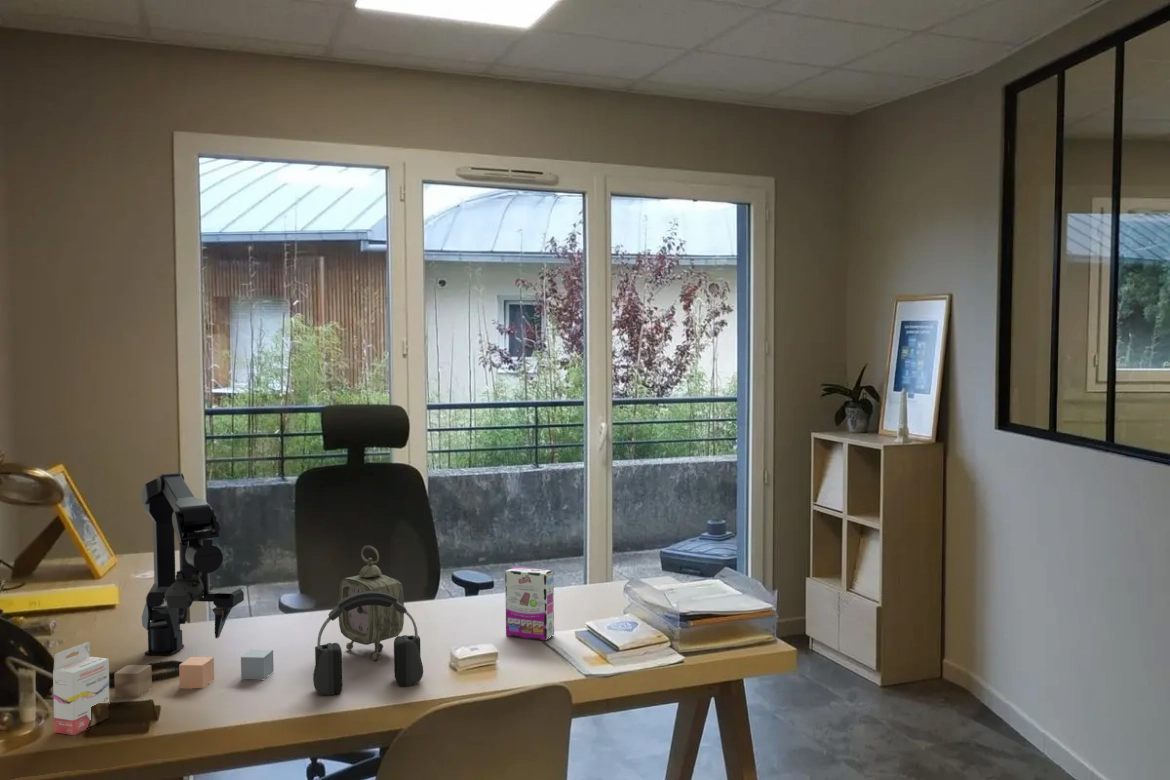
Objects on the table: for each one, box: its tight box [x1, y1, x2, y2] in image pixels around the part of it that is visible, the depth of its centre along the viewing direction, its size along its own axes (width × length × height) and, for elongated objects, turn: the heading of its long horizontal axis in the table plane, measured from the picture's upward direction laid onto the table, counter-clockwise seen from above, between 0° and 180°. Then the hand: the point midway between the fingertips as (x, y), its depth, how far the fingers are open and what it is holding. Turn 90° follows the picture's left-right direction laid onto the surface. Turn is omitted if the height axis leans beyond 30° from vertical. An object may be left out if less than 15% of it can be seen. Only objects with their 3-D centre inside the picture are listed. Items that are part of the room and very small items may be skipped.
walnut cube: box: [113, 664, 153, 698], centre depth 188 cm, size 5×5×5 cm
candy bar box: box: [504, 566, 555, 642], centre depth 224 cm, size 11×5×16 cm, turn 68°
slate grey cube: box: [240, 648, 275, 680], centre depth 198 cm, size 5×5×5 cm
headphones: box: [312, 591, 424, 696], centre depth 191 cm, size 22×6×20 cm, turn 109°
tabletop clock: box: [337, 545, 405, 661], centre depth 212 cm, size 14×9×25 cm, turn 47°
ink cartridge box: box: [52, 641, 110, 736], centre depth 172 cm, size 9×5×15 cm, turn 163°
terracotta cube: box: [178, 656, 215, 689], centre depth 193 cm, size 5×5×5 cm
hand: (196, 637), depth 193 cm, fingers open, 9 cm apart
